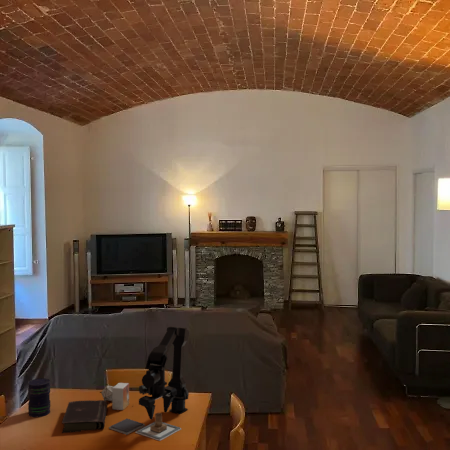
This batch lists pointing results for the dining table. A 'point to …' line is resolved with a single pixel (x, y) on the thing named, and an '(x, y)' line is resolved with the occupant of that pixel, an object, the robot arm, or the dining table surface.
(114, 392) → the small box
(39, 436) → the dining table surface
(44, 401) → the storage jar
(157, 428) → the stamp
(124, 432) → the ink pad
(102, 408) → the diary
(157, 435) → the print sheet
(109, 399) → the game die
